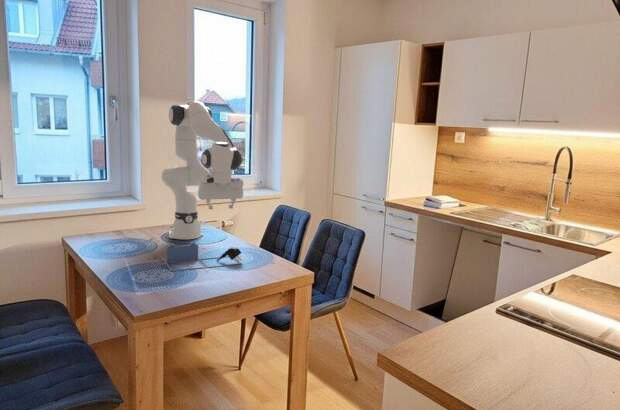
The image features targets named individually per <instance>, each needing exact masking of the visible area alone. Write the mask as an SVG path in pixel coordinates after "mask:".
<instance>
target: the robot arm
mask: <svg viewBox="0 0 620 410" xmlns="http://www.w3.org/2000/svg"><path fill="white" fill-rule="evenodd" d="M168 119H169V122H170V124H172V125H174V126H176V128H175V136H174V137H175V138H174V139H175V140H174V141H175V149H174V151H175V156H177V158H178V159H180V160H182V161H185V163H186V165H185V166H184V165H183V166H182V165H181V166H180V165H177V166H168V167H166V168H164V169H163V170H162V172H161V181H162V182H163V184H164V185H165V186H167V187H168V189H170V190H171V192H173V193H172V194H173V196H174V198H175V200H174V201H175V212H174V218H175V219H174V220H173V222H172V223H171V224H169V229H171V230H169V231H168V238H169V239H176V240H194V239H195V240H196V239H199V238H200V237H204V233H202V232H201V230H202V229H201V221H200V220H199V213H198V199H199V200H202V201H203V200H204V201H205V202H206V203H207V205H208V209H209V210H213V209H214V205H212V204H211V203H210V202H211V200H231V203H229V204H228V209H230V210H231V209H234V204H235V203H236V201H237V200H238V199H242V198H243V197H244V181H243V179H241V178H239V177H238V178H235V177H234V178H233V177H232V171H237V169H239V168H240V167H241V165H242V163H243V156H242V154H241V152H240V151H239V150H238V149H237V147H235V145H234V144H233V142H232V141H231V138H230V137H229V136H228V134H227V133H226V131H225V130H224V128H223V127H221V126H220V125H219V124H217V123H216V121H214V120H213V113H212V110H211V109H210V108H209V107H208V106H206V105H205V104H204V103H203V102H201V101H193V102H190V103H189V104H174V105H171V106H170V107H169V111H168ZM197 137H199V138H203V139H206V140H207V139H208V140H211V141H214V142H213V143H212V146H211V147H210V148H207V149H205V150H204V151H203V152H202V153H201V160H200V159H199V155H198V148H197V146H198V143H197ZM209 170H211V172H210V171H209ZM187 187H198V191H197V197H196V195H195V194H193V193H191V192H189V191H187ZM197 198H198V199H197ZM236 199H237V200H236Z"/></svg>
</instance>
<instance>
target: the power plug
mask: <svg viewBox="0 0 620 410" xmlns="http://www.w3.org/2000/svg"><path fill="white" fill-rule="evenodd" d="M241 253H242V251H241V250H240V248H238V247H233V246H232V247H230V248H228V249H227V250H225V251H224V252H223V253H222V254H221V256H219V257H220V258H217V260H216V262H219V261H220V260H222V259H224V257H225V256H229V257H228V258H229V259H230V260H231V261H233V260H234V258H236V260H237V261H238V262H240V261H242V260H243V259H242V258H241V256H240V255H241ZM225 258H226V257H225ZM236 260H235V261H236ZM237 261H236V262H237ZM238 262H237V263H238Z"/></svg>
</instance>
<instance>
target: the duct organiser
mask: <svg viewBox="0 0 620 410" xmlns="http://www.w3.org/2000/svg"><path fill="white" fill-rule="evenodd" d="M220 257H221V256H217V257H216V256H215V257H205V258H199V244H197V243H196V242H195V241H190V244H185V245H176V244H175V243H169V244H168V246H166V261H164V264H165V266H166V267H167V269H168V270H169V272H179V271H180V272H181V271H190V270H201V269H208V268H219V267H228V266H229V267H230V266H238V265H243V264H242V262H238V261H237V260H236V258H234V259H233V260H235V262H237V263H229V264H221V265H220V264H219V265H210V266H208V265H207V264H206V262H204V260H212V259H214V260H215V259H219V258H220ZM224 258H229V256H228V255H227V256H225V257H224ZM224 258H223V259H224ZM190 261H192V262H193V261H200V263H201V264H202V265H203V266H201V267H193V268H191V267H190V268H181V269H172V268H171V267H170V265H169V264H171V263H182V262H183V263H184V262H190Z"/></svg>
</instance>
